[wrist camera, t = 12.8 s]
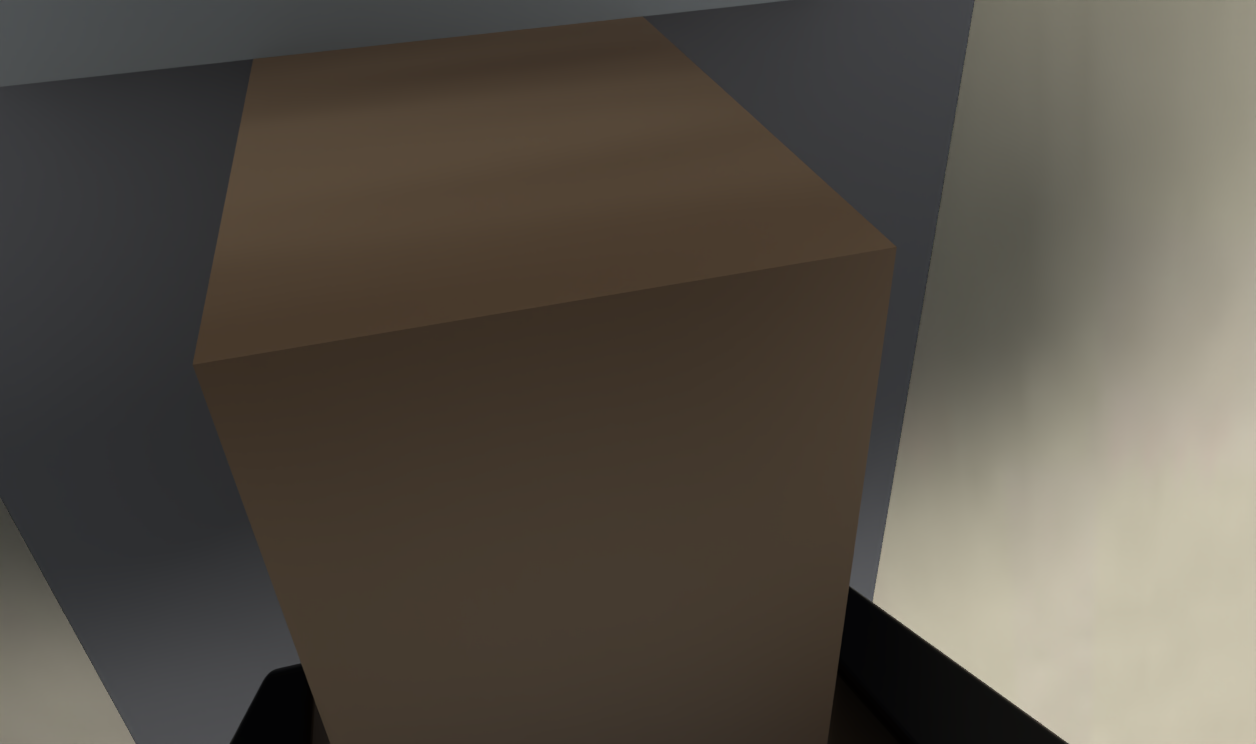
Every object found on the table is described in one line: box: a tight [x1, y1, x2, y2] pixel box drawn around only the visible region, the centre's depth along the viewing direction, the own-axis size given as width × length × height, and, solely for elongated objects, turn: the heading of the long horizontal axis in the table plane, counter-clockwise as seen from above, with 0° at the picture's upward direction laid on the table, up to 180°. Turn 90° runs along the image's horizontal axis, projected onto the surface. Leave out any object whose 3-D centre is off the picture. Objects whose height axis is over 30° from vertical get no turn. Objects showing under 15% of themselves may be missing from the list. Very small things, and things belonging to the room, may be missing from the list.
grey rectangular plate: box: [0, 0, 975, 744], centre depth 10 cm, size 10×22×1 cm, turn 1°
